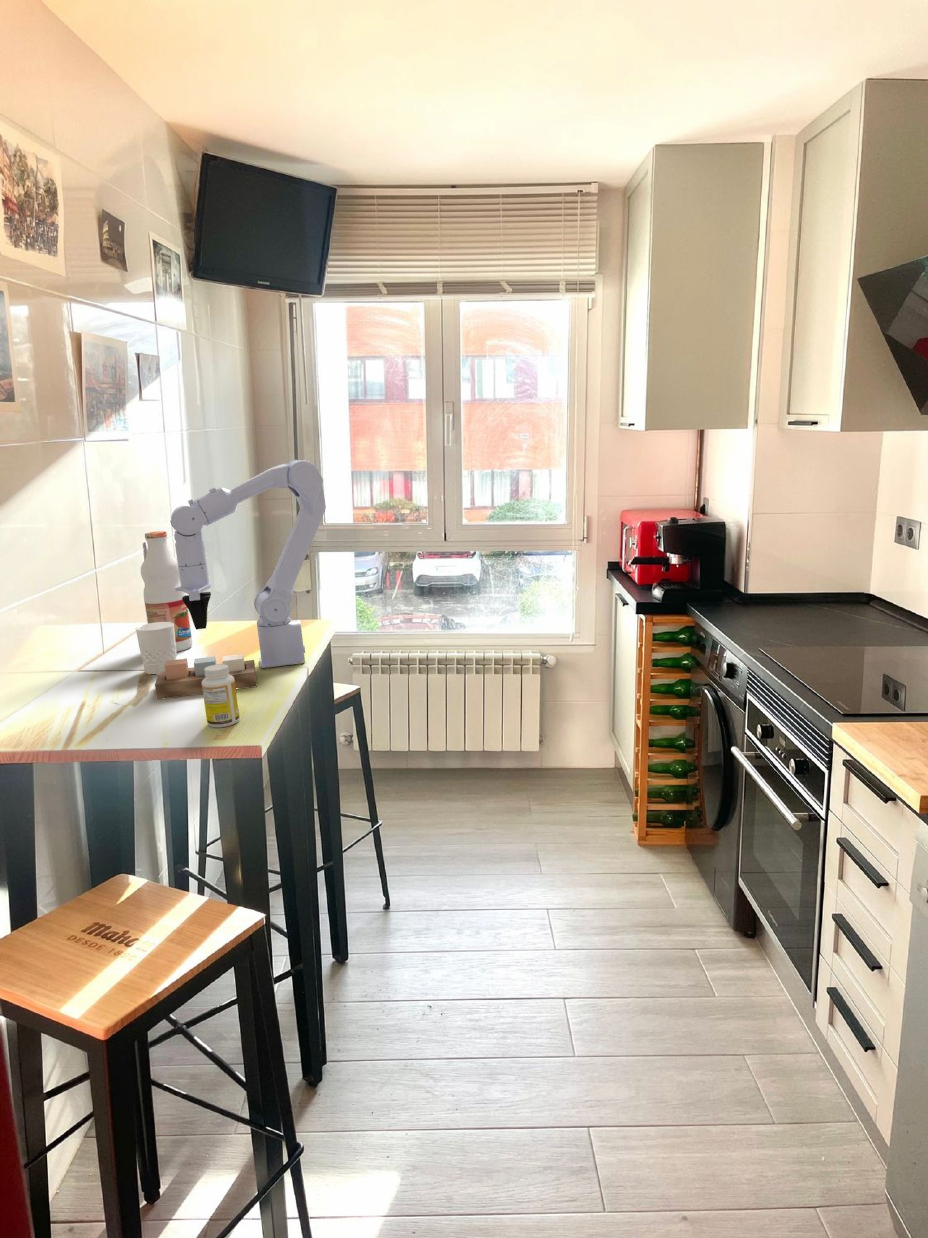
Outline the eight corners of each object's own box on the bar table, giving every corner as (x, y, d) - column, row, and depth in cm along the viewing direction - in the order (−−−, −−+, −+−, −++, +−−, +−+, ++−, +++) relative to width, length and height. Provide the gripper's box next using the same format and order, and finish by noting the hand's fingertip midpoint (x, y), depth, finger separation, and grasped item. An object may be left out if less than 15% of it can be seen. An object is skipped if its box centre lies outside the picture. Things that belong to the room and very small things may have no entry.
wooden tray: (255, 673, 191) (254, 659, 190) (256, 686, 181) (254, 671, 181) (161, 685, 187) (159, 671, 186) (156, 699, 177) (154, 684, 177)
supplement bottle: (227, 716, 164) (220, 661, 162) (246, 721, 160) (239, 665, 158) (200, 725, 160) (193, 669, 158) (219, 730, 156) (211, 673, 154)
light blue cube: (217, 675, 186) (215, 656, 185) (217, 680, 182) (214, 661, 181) (197, 677, 185) (194, 658, 184) (196, 683, 182) (193, 663, 181)
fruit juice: (154, 646, 222) (136, 532, 216) (194, 642, 224) (177, 528, 218) (150, 656, 213) (131, 536, 207) (191, 651, 215) (175, 532, 209)
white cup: (168, 675, 194) (162, 630, 192) (135, 676, 196) (128, 630, 194) (186, 665, 202) (180, 621, 200) (154, 665, 204) (147, 622, 201)
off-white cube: (245, 672, 187) (243, 653, 186) (245, 677, 184) (243, 658, 183) (225, 675, 187) (222, 656, 186) (225, 680, 183) (222, 661, 182)
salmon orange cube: (189, 677, 185) (186, 658, 184) (188, 682, 181) (185, 663, 180) (169, 680, 184) (166, 660, 183) (167, 685, 180) (164, 665, 179)
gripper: (174, 561, 194) (183, 623, 197) (169, 571, 181) (179, 638, 184) (208, 558, 196) (217, 619, 199) (206, 567, 182) (215, 633, 185)
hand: (201, 628), depth 191 cm, fingers closed
